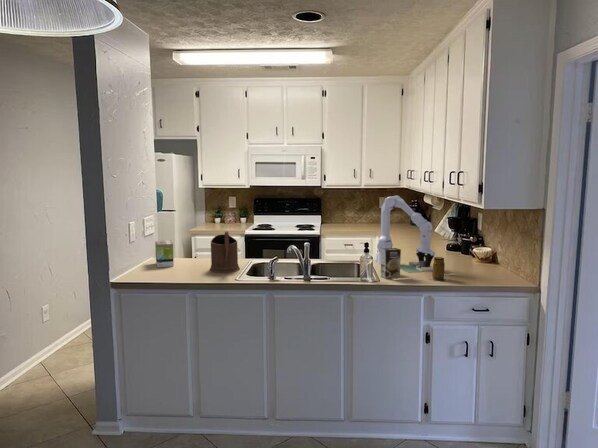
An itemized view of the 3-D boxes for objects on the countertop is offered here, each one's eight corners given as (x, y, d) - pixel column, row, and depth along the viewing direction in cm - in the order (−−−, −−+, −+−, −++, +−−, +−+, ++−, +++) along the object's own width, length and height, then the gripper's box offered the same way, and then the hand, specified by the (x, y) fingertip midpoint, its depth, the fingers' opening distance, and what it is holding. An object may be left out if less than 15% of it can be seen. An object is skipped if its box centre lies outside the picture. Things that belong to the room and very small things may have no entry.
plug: (419, 269, 258) (419, 259, 257) (425, 268, 260) (426, 259, 259) (423, 270, 255) (423, 261, 254) (429, 269, 257) (429, 260, 256)
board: (394, 268, 266) (394, 263, 265) (420, 266, 271) (420, 261, 271) (409, 274, 249) (409, 269, 249) (436, 272, 255) (436, 267, 254)
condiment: (435, 276, 244) (436, 255, 243) (450, 279, 239) (450, 258, 237) (429, 279, 239) (430, 257, 237) (444, 282, 233) (444, 260, 232)
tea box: (174, 266, 272) (173, 243, 271) (157, 268, 269) (156, 244, 267) (171, 261, 286) (170, 239, 284) (155, 263, 283) (154, 240, 281)
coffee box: (385, 279, 240) (386, 250, 238) (380, 276, 246) (380, 248, 244) (400, 277, 242) (401, 249, 240) (394, 275, 248) (395, 247, 246)
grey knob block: (409, 265, 269) (409, 261, 269) (418, 264, 271) (419, 260, 271) (415, 267, 262) (415, 263, 262) (425, 266, 264) (425, 262, 264)
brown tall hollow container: (237, 265, 276) (236, 226, 273) (244, 273, 253) (243, 231, 250) (207, 267, 270) (206, 227, 267) (212, 276, 248) (210, 232, 244)
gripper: (412, 241, 260) (411, 263, 262) (428, 245, 247) (427, 268, 249) (421, 240, 263) (420, 262, 265) (438, 244, 250) (437, 267, 252)
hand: (424, 265), depth 257 cm, fingers open, 5 cm apart
